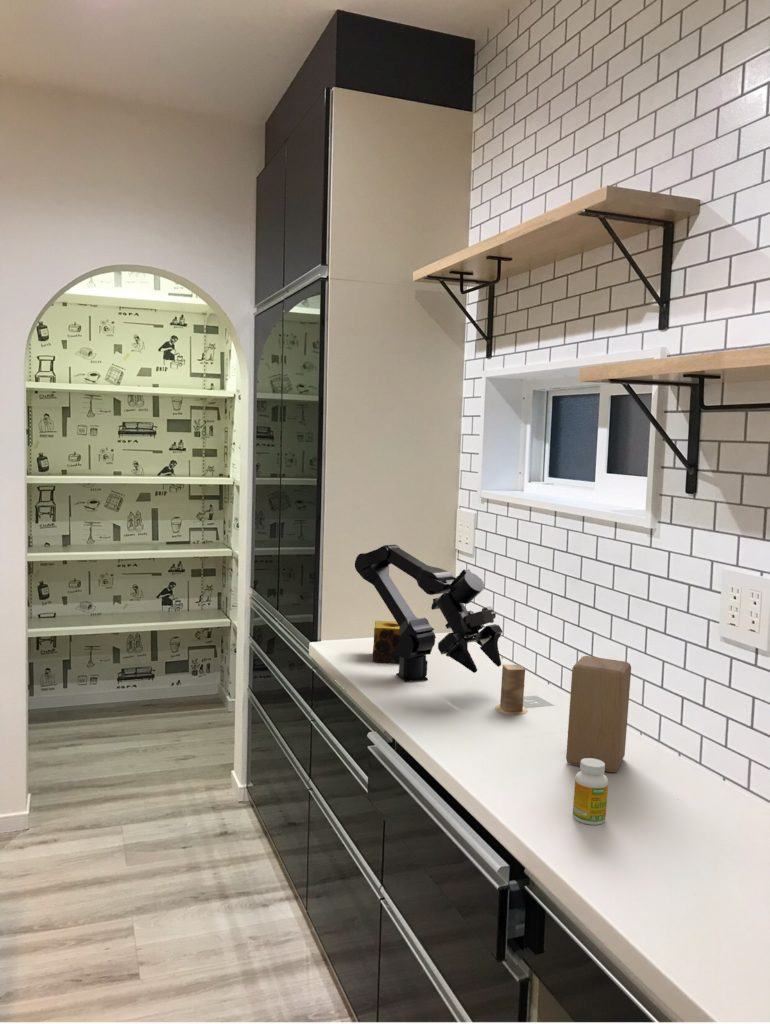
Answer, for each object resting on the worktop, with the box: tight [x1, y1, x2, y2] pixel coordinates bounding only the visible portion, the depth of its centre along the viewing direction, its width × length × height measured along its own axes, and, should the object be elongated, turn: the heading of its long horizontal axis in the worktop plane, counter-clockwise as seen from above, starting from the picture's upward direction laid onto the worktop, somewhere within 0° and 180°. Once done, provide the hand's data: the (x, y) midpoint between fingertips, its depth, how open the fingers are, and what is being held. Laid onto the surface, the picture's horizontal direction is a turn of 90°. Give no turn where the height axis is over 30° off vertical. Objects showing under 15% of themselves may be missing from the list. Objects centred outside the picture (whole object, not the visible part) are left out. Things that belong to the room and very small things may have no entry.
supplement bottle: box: [572, 758, 609, 826], centre depth 140 cm, size 5×5×10 cm
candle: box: [372, 620, 401, 665], centre depth 236 cm, size 10×10×10 cm
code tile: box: [523, 695, 555, 709], centre depth 202 cm, size 8×8×1 cm
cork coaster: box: [494, 704, 529, 716], centre depth 195 cm, size 8×8×1 cm
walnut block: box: [499, 664, 526, 712], centre depth 195 cm, size 4×4×10 cm
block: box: [565, 655, 632, 774], centre depth 165 cm, size 10×10×20 cm
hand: (488, 668), depth 200 cm, fingers open, 9 cm apart
